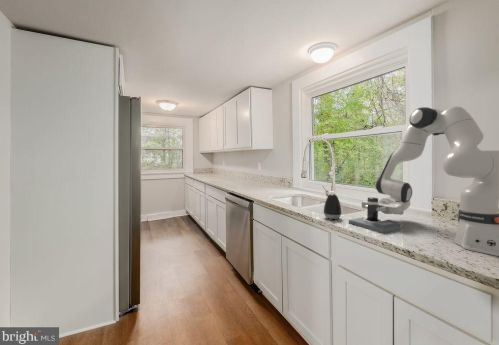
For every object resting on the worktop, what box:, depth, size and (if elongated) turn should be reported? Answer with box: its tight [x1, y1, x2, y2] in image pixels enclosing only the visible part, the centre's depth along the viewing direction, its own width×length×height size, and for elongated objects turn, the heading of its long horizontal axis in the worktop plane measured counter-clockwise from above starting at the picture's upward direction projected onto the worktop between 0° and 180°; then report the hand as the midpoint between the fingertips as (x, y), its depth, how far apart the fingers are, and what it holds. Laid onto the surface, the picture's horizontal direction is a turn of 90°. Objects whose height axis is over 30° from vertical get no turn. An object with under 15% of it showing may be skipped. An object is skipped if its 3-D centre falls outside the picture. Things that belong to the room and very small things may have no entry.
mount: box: [348, 216, 399, 234], centre depth 124 cm, size 20×12×4 cm, turn 28°
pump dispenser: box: [323, 193, 342, 220], centre depth 140 cm, size 10×10×15 cm
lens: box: [366, 197, 379, 222], centre depth 124 cm, size 5×5×12 cm
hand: (371, 208), depth 123 cm, fingers closed on lens, 5 cm apart
